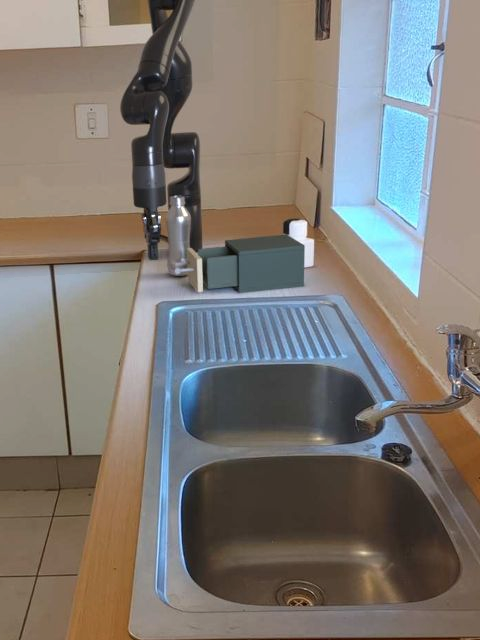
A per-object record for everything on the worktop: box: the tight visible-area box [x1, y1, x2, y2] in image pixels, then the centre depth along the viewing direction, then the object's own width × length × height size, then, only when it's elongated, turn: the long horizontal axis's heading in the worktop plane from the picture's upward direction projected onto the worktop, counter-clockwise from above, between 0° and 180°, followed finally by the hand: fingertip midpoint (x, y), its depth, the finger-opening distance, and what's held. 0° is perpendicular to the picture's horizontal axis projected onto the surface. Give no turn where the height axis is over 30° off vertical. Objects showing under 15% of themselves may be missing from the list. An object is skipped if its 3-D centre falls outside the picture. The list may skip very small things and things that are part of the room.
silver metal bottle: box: [164, 196, 191, 277], centre depth 190 cm, size 6×7×20 cm
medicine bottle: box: [282, 218, 315, 269], centre depth 193 cm, size 7×7×12 cm
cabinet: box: [224, 234, 305, 294], centre depth 181 cm, size 16×13×10 cm
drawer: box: [169, 245, 238, 293], centre depth 180 cm, size 20×12×8 cm, turn 99°
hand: (153, 259), depth 177 cm, fingers closed
